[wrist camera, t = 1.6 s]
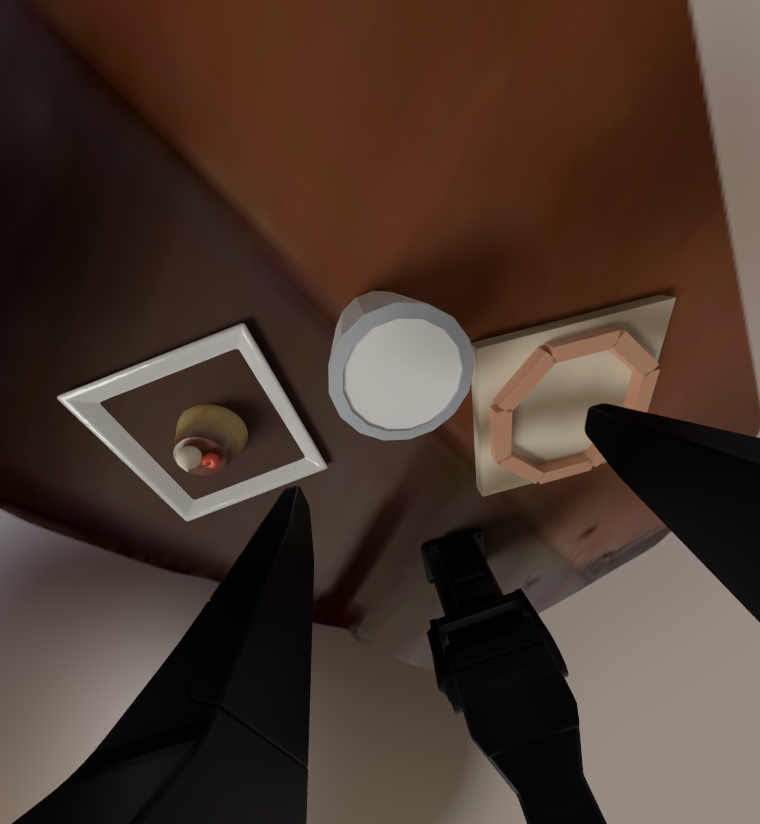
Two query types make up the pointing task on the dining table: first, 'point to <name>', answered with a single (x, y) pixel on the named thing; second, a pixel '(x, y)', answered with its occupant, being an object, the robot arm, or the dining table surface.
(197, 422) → the dessert
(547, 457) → the serving board
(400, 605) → the dining table surface
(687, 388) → the dining table surface
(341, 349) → the shot glass
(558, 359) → the coaster ring
